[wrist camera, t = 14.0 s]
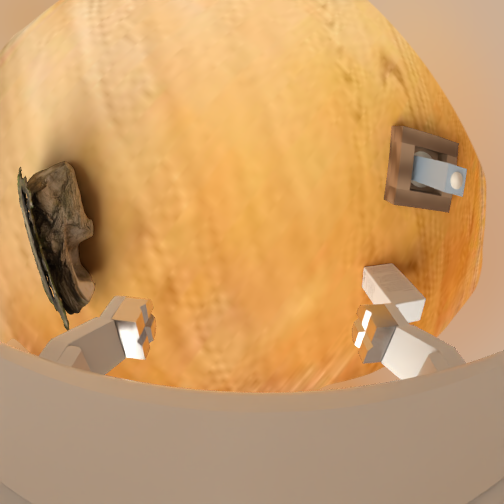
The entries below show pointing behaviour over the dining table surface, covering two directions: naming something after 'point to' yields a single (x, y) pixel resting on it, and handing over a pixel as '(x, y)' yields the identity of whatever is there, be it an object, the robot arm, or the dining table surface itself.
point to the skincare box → (393, 290)
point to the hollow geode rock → (57, 235)
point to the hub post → (439, 175)
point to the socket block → (401, 166)
